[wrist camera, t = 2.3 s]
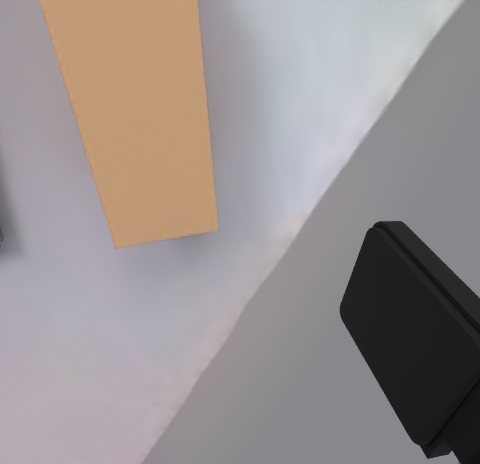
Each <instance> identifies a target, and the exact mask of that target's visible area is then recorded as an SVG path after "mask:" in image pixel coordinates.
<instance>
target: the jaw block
mask: <svg viewBox="0 0 480 464" xmlns="http://www.w3.org/2000/svg"><path fill="white" fill-rule="evenodd" d="M40 4H41V7H42V10H43V13H44V17H45V20H46V23H47V27H48V30H49V33H50V36H51V40H52V43H53V46H54V49H55V53H56V56H57V59H58V62H59V66H60V69H61V72H62V75H63V79H64V82H65V85H66V89H67V92H68V95H69V98H70V102H71V105H72V108H73V111H74V115H75V118H76V121H77V124H78V128H79V131H80V134H81V137H82V141H83V144H84V147H85V151H86V154H87V157H88V160H89V164H90V167H91V170H92V173H93V177H94V180H95V183H96V186H97V190H98V193H99V196H100V199H101V203H102V206H103V209H104V212H105V216H106V219H107V222H108V226H109V229H110V232H111V235H112V239H113V242H114V245H115V248H121V247H127V246H132V245H138V244H144V243H149V242H155V241H161V240H166V239H172V238H178V237H183V236H189V235H195V234H200V233H206V232H212V231H217V230H219V226H218V215H217V205H216V194H215V183H214V172H213V161H212V150H211V139H210V128H209V118H208V107H207V96H206V85H205V74H204V63H203V52H202V41H201V30H200V20H199V9H198V0H40Z"/></svg>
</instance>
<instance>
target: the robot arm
mask: <svg viewBox="0 0 480 464" xmlns="http://www.w3.org/2000/svg"><path fill="white" fill-rule="evenodd" d="M340 315H341V319H342V321H343V323H344V324H345V326H346V328H347V329H348V331H349V333H350V335H351V336H352V338H353V340H354V341H355V343H356V345H357V346H358V348H359V350H360V352H361V354H362V355H363V357H364V359H365V361H366V362H367V364H368V366H369V367H370V369H371V371H372V373H373V375H374V376H375V378H376V380H377V381H378V383H379V385H380V387H381V388H382V390H383V392H384V394H385V395H386V397H387V399H388V401H389V402H390V404H391V406H392V407H393V409H394V411H395V413H396V414H397V416H398V418H399V420H400V421H401V423H402V425H403V426H404V428H405V430H406V432H407V433H408V435H409V437H410V438H411V440H412V441H413V442H414V443H415V444H418V445H420V447H421V448H422V450H423V452H424V454H425V455H426V457H427V458H428V459H429V458H434V457H438V456H443V455H448V454H449V453H450V452H451V451H453V452H454V454H455V456H456V457H457V459H458V460H459V463H458V464H480V298H479V297H478V296H477V295H476V294H475V293H474V292H473V291H472V290H471V289H470V288H469V287H468V286H467V285H466V284H465V283H464V282H463V281H462V280H461V279H460V278H459V277H458V276H457V275H456V274H454V272H453V271H452V270H451V269H450V268H449V267H448V266H447V265H446V264H445V263H444V262H443V261H441V260H440V258H439V257H438V256H437V255H436V254H435V253H434V252H433V251H431V249H430V248H429V247H428V246H427V245H426V244H424V242H422V241H421V239H419V237H418V236H417V235H416V234H414V232H413V231H412V230H411V229H409V227H408V226H406V224H404V223H403V222H401V221H381V222H377V223H375V224H374V226H373V228H370V229H369V230H368V231H367V233H366V236H365V238H364V241H363V244H362V247H361V250H360V252H359V255H358V258H357V261H356V263H355V266H354V269H353V272H352V274H351V277H350V280H349V283H348V285H347V288H346V291H345V294H344V296H343V299H342V302H341V305H340Z"/></svg>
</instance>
